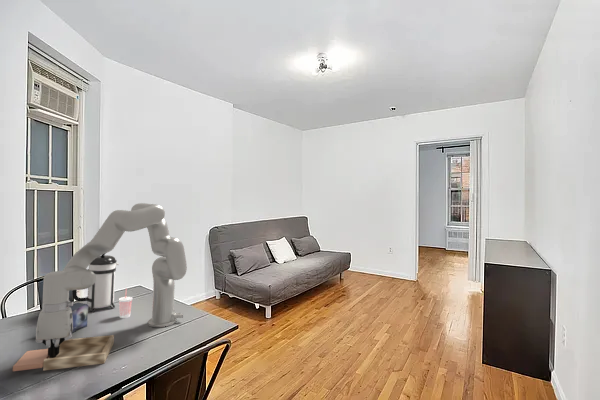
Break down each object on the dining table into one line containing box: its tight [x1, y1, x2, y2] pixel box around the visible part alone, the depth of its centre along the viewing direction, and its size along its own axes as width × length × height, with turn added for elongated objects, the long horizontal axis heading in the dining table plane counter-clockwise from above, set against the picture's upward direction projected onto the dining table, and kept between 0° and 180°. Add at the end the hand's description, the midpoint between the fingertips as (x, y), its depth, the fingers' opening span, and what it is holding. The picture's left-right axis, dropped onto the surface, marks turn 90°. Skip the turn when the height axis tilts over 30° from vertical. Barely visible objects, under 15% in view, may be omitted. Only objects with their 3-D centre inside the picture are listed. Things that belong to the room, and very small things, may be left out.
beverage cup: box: [118, 287, 133, 319], centre depth 158 cm, size 6×6×14 cm
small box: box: [69, 302, 89, 334], centre depth 140 cm, size 11×6×10 cm, turn 168°
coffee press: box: [71, 253, 120, 313], centre depth 167 cm, size 17×16×30 cm
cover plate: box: [12, 348, 49, 372], centre depth 112 cm, size 8×11×3 cm
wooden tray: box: [42, 334, 115, 371], centre depth 117 cm, size 18×16×4 cm
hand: (53, 356), depth 114 cm, fingers closed
